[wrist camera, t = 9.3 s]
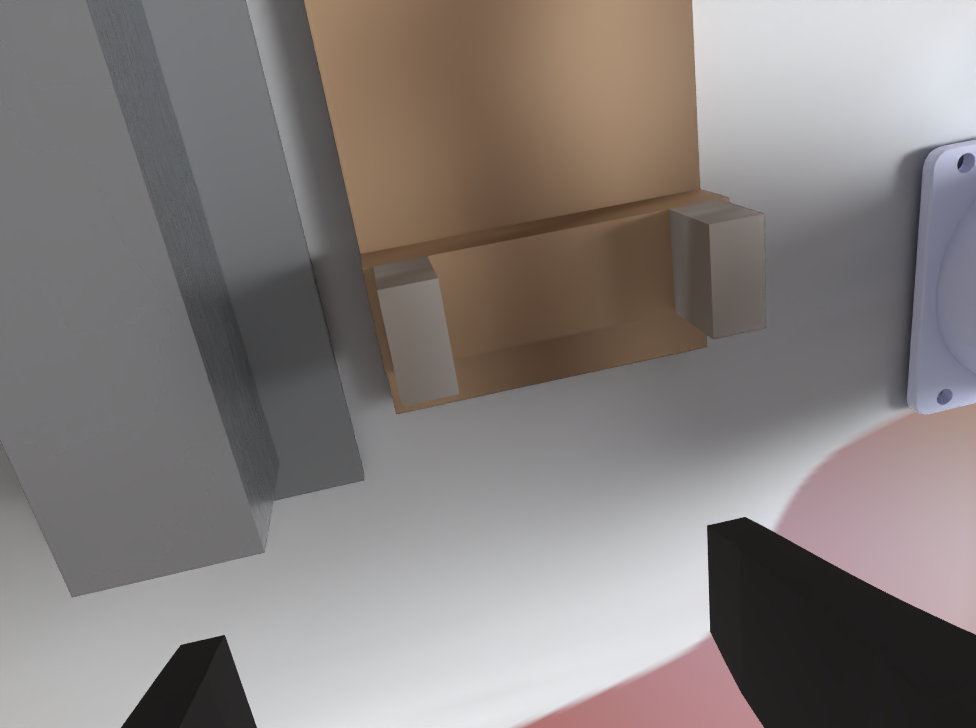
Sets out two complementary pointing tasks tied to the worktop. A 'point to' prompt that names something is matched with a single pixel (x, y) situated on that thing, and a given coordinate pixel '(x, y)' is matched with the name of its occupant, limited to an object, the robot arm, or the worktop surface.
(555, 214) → the rail stand
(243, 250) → the mat
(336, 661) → the worktop surface
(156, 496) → the rail
